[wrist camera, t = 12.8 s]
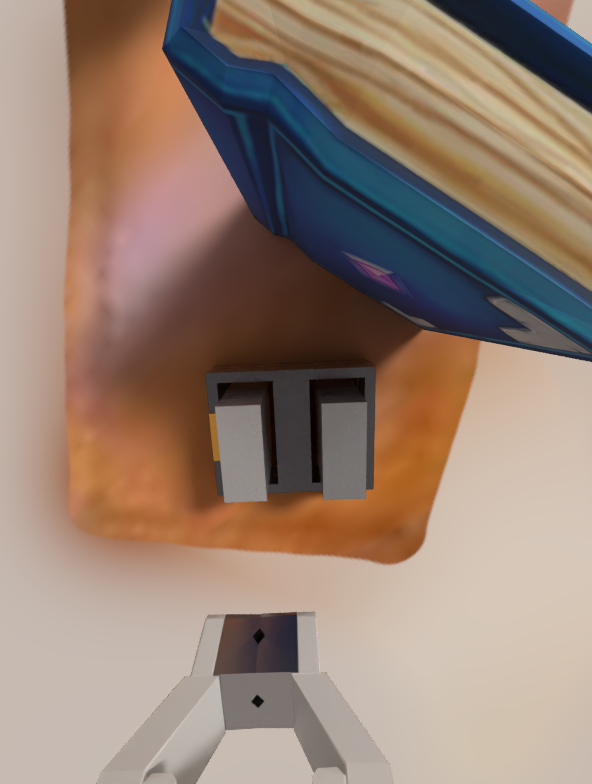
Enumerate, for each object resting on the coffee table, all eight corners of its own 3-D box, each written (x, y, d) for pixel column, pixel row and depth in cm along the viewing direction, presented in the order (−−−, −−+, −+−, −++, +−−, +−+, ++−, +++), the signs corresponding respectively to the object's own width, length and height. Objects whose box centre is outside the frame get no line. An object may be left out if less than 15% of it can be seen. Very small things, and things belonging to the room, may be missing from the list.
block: (232, 382, 38) (214, 406, 30) (267, 381, 38) (260, 404, 30) (239, 459, 41) (224, 502, 32) (272, 457, 41) (266, 500, 32)
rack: (214, 365, 38) (190, 385, 29) (367, 360, 38) (389, 377, 29) (225, 479, 41) (206, 526, 32) (365, 473, 41) (385, 520, 32)
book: (240, 219, 34) (112, 21, 10) (275, 146, 33) (226, -289, 9) (423, 331, 37) (669, 388, 13) (464, 269, 36) (828, 203, 11)
